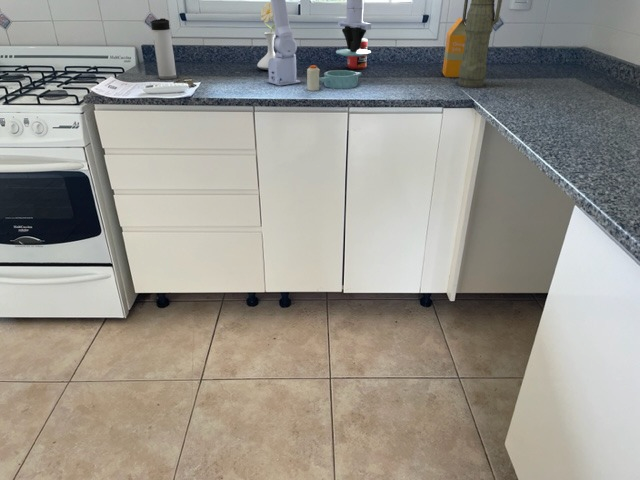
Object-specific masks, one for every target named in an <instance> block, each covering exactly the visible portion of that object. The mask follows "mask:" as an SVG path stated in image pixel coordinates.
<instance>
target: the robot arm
mask: <svg viewBox="0 0 640 480" xmlns="http://www.w3.org/2000/svg"><path fill="white" fill-rule="evenodd" d="M270 2H271V5H272V11H273V20H274V25H275V30H274V32H275V37H274V43H273V47H274V50H276V52H275V57H274V58H271V59H270V60H269V63H268V70H267V71H268V80H267V82H268V83H270V84H273V85H276V86H280V87H281V86H287V85H294V84H299V83H300V84H301V83H302V80H299V79H297V55H296V53H297V50H298V44H297V41H296V39H295V38H294V35H293V31H292V28H291V26H290V20H289V13H288V6H287V0H270ZM363 19H364V0H346V19H345V20H338V22H337V27H338V28H339V27H340V28H341V27H342V29H341V32H342V33H343V35H344V36H343V37H344V39H345V41H346V47H347V49H348V50H350V42H352V41H353V49H354V51H356V50H359V48H360V44H361V41H362V38H364V36H365V34H366V33H367V31H369V30H372V23H370V22H365V21H364V20H363Z"/></svg>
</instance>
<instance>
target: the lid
mask: <svg viewBox="0 0 640 480" xmlns="http://www.w3.org/2000/svg"><path fill="white" fill-rule="evenodd" d="M371 53H372V51H371V50H368V49H367V50H364V49H359V50H356V51H354V49H353V41H352V42H350V50H348V48H341V49H337V50H336V51H335V54H336V55H340V56H344V57H348V56H364V55H367V56H368V55H371Z"/></svg>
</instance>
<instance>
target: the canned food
mask: <svg viewBox="0 0 640 480" xmlns="http://www.w3.org/2000/svg"><path fill="white" fill-rule="evenodd" d="M359 49H364V50H368V38H365V37H363V38H362V41H361V44H360V48H359ZM367 58H368V55H364V56H347V68H348V69H352V70H364V69H366V68H367V61H368V60H367Z"/></svg>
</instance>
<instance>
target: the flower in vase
mask: <svg viewBox="0 0 640 480" xmlns="http://www.w3.org/2000/svg"><path fill="white" fill-rule="evenodd" d="M260 21H261V22H263V23H264V25H265V26H266V27H267V28H269V29H270V31H265V32H263V35H264V36H265V39H266V41H267V42H266V43H267V53H266V54H265V55H264V56H263V57H262V58H261V59H260V60H259V61H258V63H257V67H258V69H261V70H265V71H269V70H268V63H269V60H270V59H271V58H274V57H275V54H276V52H275V47H274V40H275V23H274V17H273V11H272V5H271V1H270V2H269V1H267V3H265V4H264V6H263V5H262V8H261V11H260ZM270 21H272V27H271V26H270V25H269V24H268V22H270Z"/></svg>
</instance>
